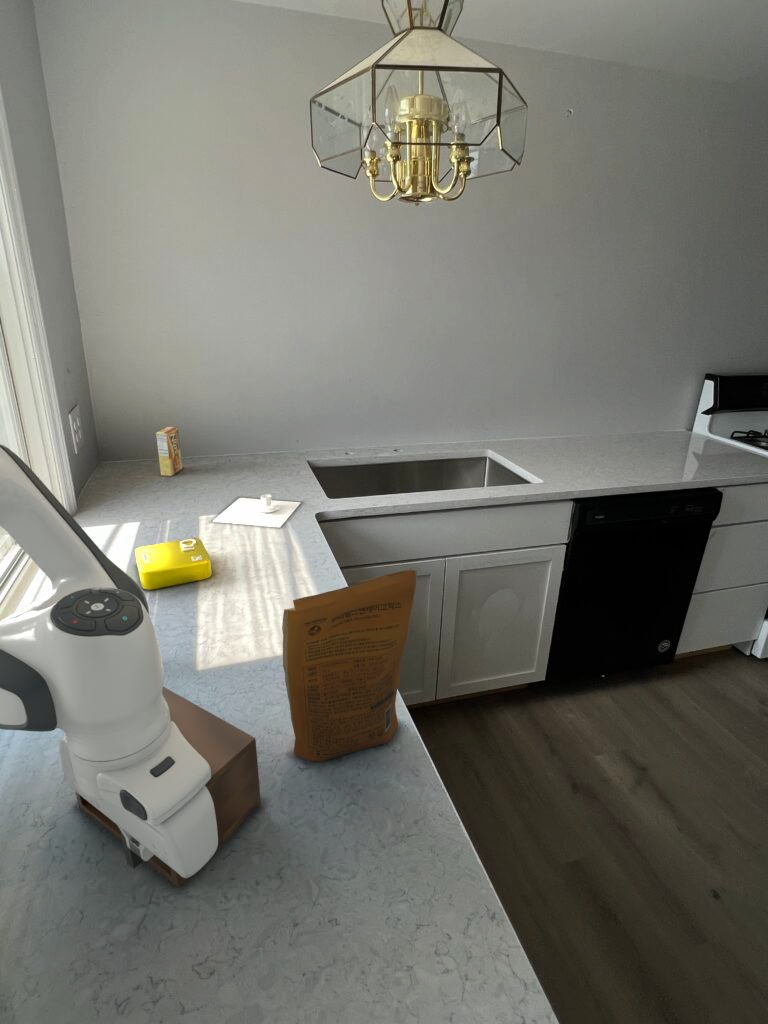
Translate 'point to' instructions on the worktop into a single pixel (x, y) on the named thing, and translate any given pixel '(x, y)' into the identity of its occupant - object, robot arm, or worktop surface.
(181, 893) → the worktop surface
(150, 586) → the yellow box
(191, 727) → the brown wooden box
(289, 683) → the pancake mix bag
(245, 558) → the worktop surface
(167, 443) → the candy box
